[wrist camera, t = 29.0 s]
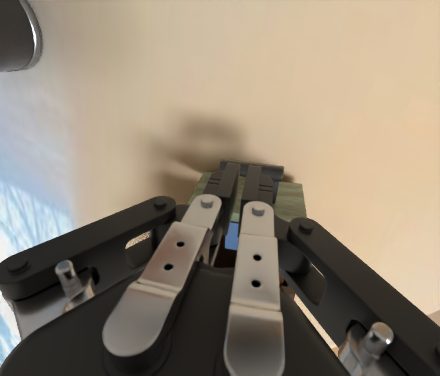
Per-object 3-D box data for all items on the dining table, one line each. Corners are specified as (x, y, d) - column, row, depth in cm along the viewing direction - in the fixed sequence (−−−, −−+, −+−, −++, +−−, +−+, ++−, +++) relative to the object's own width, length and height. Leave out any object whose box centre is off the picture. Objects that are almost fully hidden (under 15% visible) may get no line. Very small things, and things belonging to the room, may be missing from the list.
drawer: (204, 139, 31) (184, 168, 25) (310, 151, 29) (319, 186, 23) (203, 249, 41) (189, 291, 35) (282, 263, 40) (282, 310, 33)
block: (231, 200, 34) (226, 221, 30) (265, 205, 33) (263, 227, 29) (230, 226, 36) (224, 248, 32) (261, 231, 35) (259, 254, 32)
